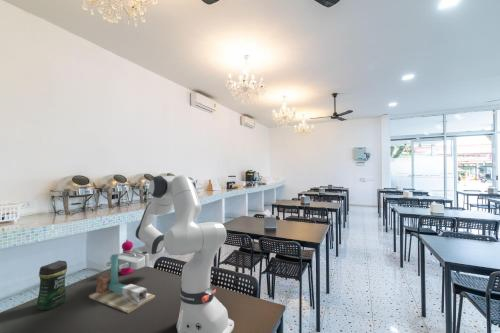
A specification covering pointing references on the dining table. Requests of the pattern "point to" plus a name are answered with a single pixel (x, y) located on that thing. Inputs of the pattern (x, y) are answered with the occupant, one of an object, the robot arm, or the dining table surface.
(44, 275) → the coffee jar
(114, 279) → the tube
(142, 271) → the dining table surface
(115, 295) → the tube fixture
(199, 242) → the robot arm
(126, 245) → the pepper mill
